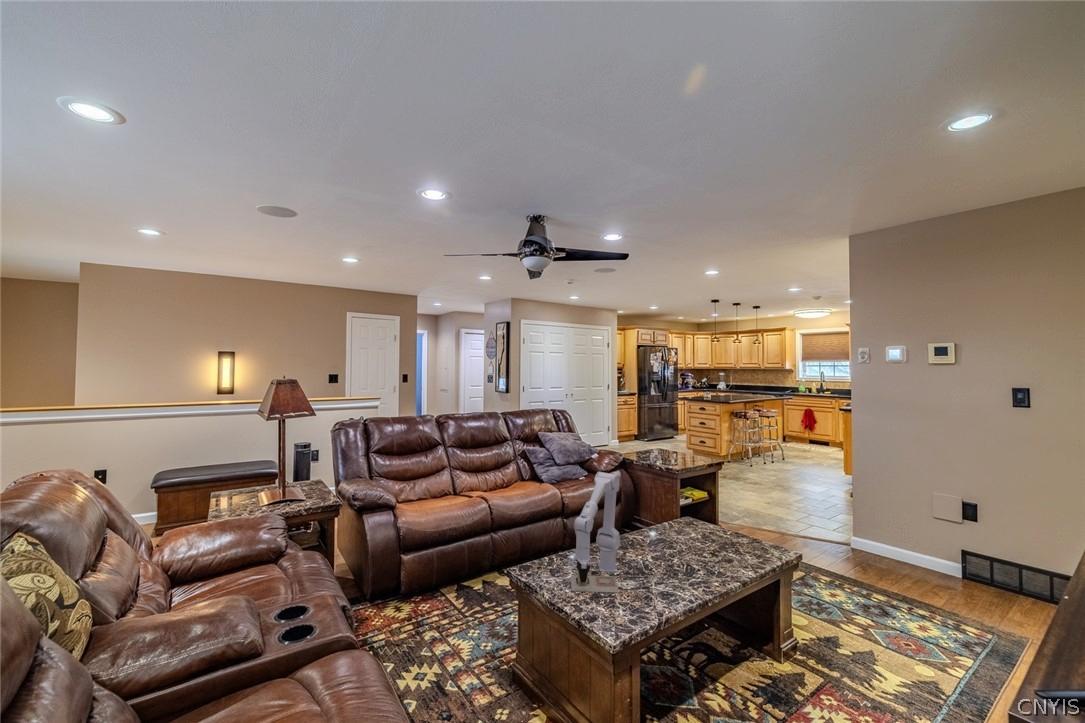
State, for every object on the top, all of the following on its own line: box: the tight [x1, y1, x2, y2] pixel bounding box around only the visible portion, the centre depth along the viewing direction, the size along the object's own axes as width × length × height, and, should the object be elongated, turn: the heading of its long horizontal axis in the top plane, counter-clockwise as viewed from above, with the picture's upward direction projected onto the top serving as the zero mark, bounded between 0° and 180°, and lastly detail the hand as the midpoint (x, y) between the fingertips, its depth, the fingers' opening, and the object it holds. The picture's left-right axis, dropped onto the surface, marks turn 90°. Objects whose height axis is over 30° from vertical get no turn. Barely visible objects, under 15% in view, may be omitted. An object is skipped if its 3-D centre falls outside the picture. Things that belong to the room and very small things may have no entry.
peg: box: [577, 563, 589, 584], centre depth 189 cm, size 4×4×8 cm
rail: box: [570, 574, 619, 593], centre depth 189 cm, size 10×19×2 cm, turn 88°
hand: (582, 578), depth 189 cm, fingers open, 6 cm apart
